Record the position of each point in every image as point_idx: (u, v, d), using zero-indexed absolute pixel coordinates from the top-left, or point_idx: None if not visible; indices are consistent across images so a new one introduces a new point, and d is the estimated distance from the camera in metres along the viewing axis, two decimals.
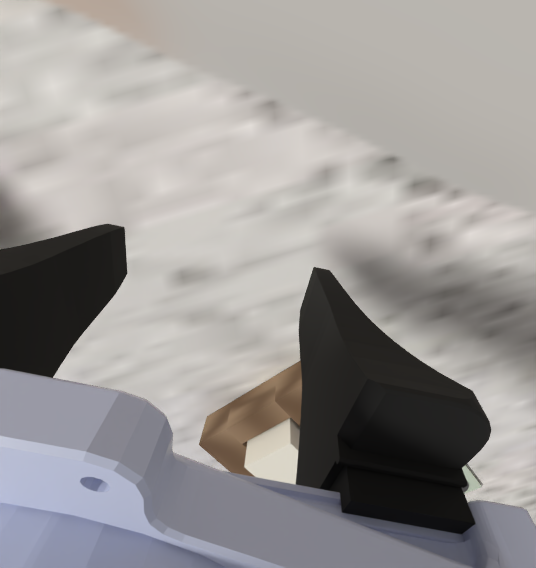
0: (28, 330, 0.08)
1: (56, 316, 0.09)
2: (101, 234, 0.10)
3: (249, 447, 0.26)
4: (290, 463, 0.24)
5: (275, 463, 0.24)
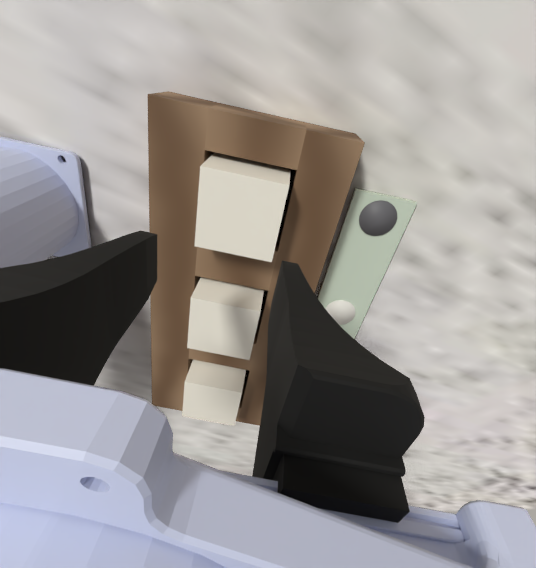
0: (77, 339, 0.08)
1: (99, 324, 0.09)
2: (138, 242, 0.10)
3: (214, 160, 0.17)
4: (257, 212, 0.17)
5: (241, 196, 0.16)
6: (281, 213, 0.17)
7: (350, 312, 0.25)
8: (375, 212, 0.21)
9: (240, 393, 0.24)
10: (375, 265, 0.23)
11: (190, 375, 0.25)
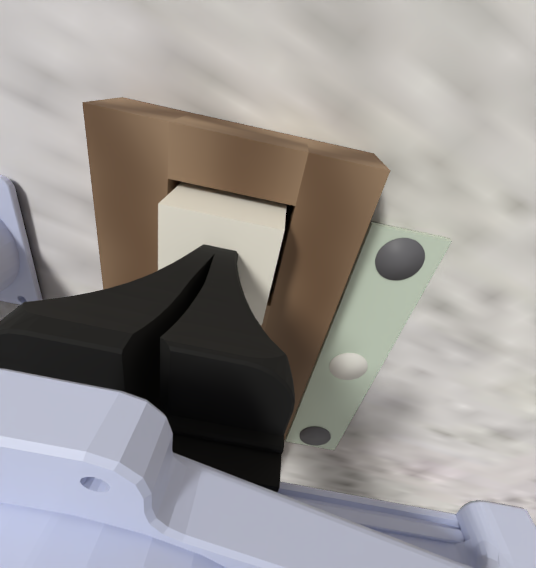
0: None
1: None
2: (209, 257, 0.10)
3: (181, 191, 0.12)
4: (241, 264, 0.12)
5: (217, 244, 0.12)
6: (273, 266, 0.12)
7: (361, 366, 0.21)
8: (396, 252, 0.16)
9: None
10: (394, 314, 0.18)
11: None
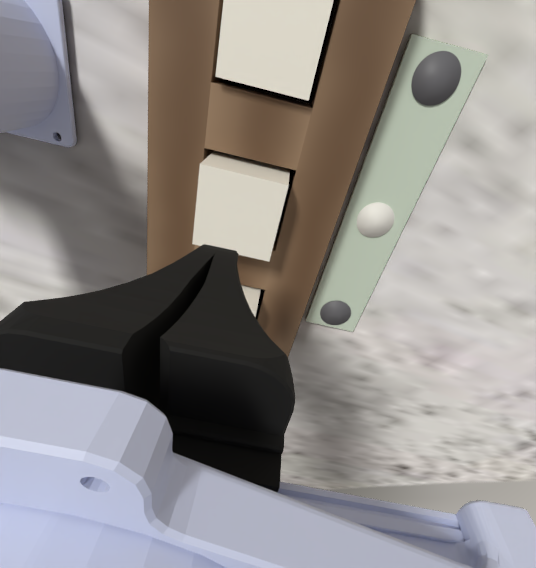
0: None
1: None
2: (210, 257, 0.10)
3: None
4: (297, 20, 0.13)
5: None
6: (326, 21, 0.13)
7: (388, 219, 0.21)
8: (433, 69, 0.17)
9: (255, 311, 0.20)
10: (425, 151, 0.19)
11: None
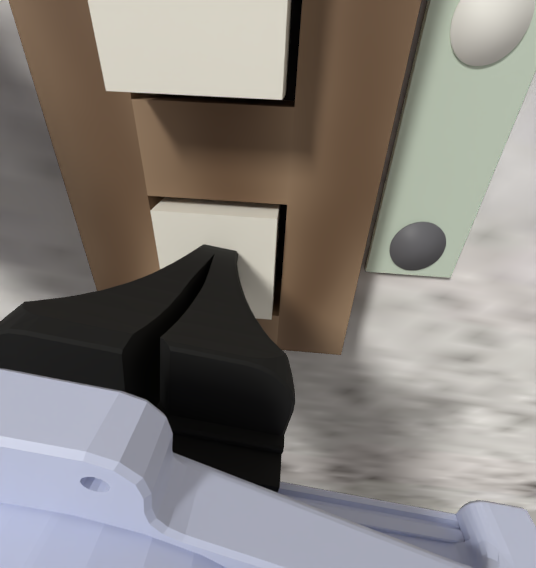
0: None
1: None
2: (210, 257, 0.10)
3: None
4: None
5: None
6: None
7: (521, 9, 0.10)
8: None
9: (274, 221, 0.11)
10: None
11: (164, 204, 0.12)
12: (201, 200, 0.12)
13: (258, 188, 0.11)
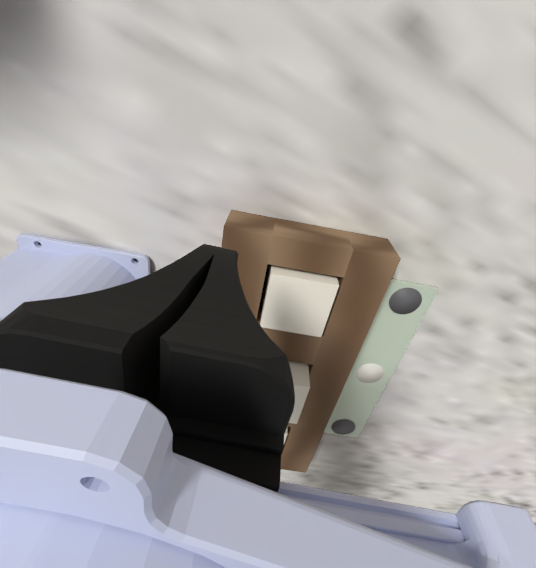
0: None
1: None
2: (209, 257, 0.10)
3: None
4: (312, 303, 0.21)
5: (300, 293, 0.21)
6: (331, 304, 0.21)
7: (379, 373, 0.29)
8: (403, 296, 0.24)
9: (286, 434, 0.29)
10: (402, 336, 0.26)
11: None
12: None
13: None
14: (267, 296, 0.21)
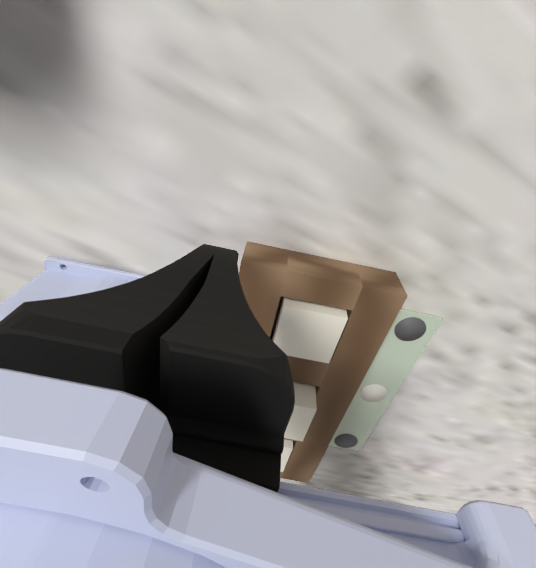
0: None
1: None
2: (210, 257, 0.10)
3: None
4: (322, 333, 0.22)
5: (311, 323, 0.22)
6: (340, 334, 0.22)
7: (382, 393, 0.30)
8: (408, 325, 0.25)
9: (291, 448, 0.30)
10: (405, 360, 0.28)
11: None
12: None
13: None
14: (279, 325, 0.22)
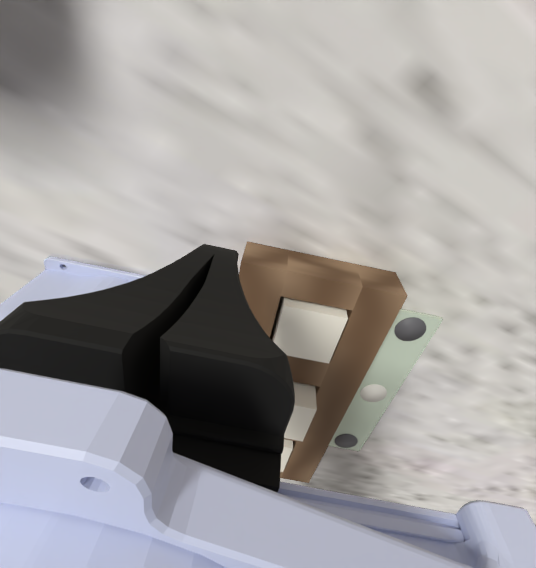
0: None
1: None
2: (210, 257, 0.10)
3: None
4: (322, 333, 0.22)
5: (311, 323, 0.22)
6: (340, 334, 0.22)
7: (382, 393, 0.30)
8: (408, 325, 0.25)
9: (291, 448, 0.30)
10: (405, 360, 0.28)
11: None
12: None
13: None
14: (279, 325, 0.22)
